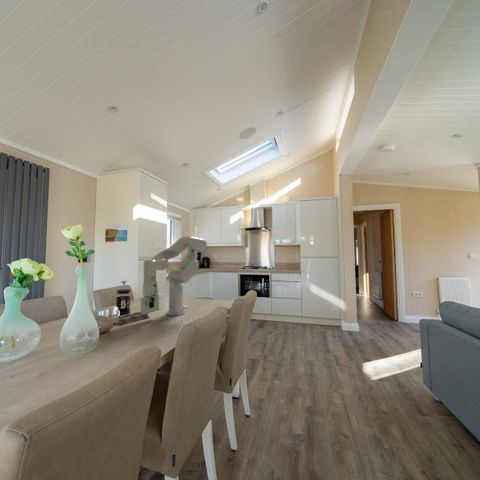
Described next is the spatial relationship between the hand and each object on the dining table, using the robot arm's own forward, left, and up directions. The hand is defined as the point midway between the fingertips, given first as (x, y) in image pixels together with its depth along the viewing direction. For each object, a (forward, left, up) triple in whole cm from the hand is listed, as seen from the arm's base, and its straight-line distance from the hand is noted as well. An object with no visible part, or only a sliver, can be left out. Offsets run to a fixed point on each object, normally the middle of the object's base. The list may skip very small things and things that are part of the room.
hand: (150, 307), depth 157 cm
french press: (+2, -27, -8) cm, 28 cm away
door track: (+7, -10, -8) cm, 15 cm away
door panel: (0, 0, -3) cm, 3 cm away
